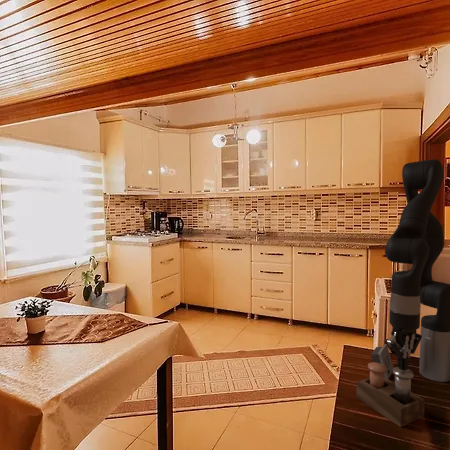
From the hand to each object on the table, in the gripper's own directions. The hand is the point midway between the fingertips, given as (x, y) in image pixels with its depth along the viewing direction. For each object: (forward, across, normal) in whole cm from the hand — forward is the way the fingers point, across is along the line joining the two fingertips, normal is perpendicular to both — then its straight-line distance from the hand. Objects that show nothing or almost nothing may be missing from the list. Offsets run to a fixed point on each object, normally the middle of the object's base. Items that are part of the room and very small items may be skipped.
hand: (402, 369), depth 92 cm
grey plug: (+8, 0, 0) cm, 8 cm away
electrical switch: (+14, -15, -18) cm, 27 cm away
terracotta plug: (+11, 0, -8) cm, 14 cm away
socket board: (+14, 0, -4) cm, 14 cm away
